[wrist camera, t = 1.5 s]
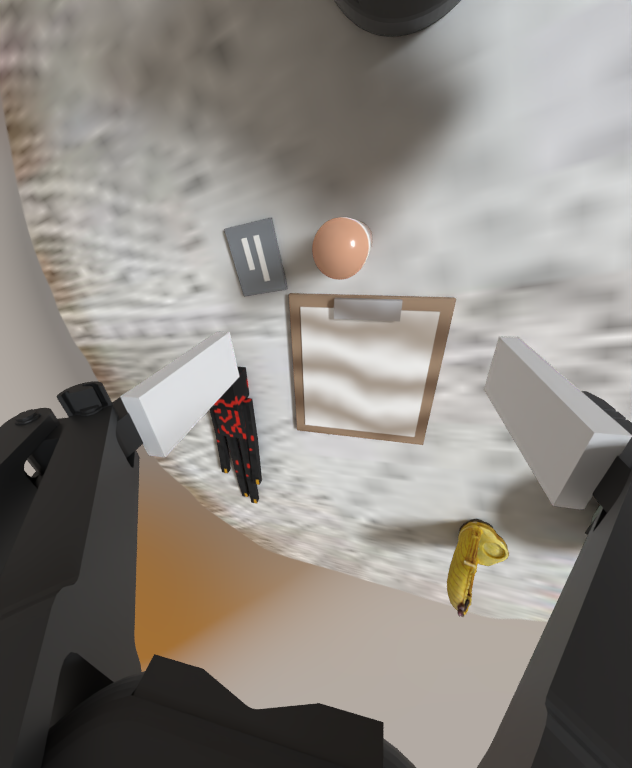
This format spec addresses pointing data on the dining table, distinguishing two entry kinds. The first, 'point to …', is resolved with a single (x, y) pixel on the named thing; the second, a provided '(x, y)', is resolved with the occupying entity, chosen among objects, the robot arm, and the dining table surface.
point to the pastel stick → (341, 247)
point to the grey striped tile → (256, 257)
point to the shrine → (472, 560)
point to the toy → (238, 435)
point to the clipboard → (367, 363)
